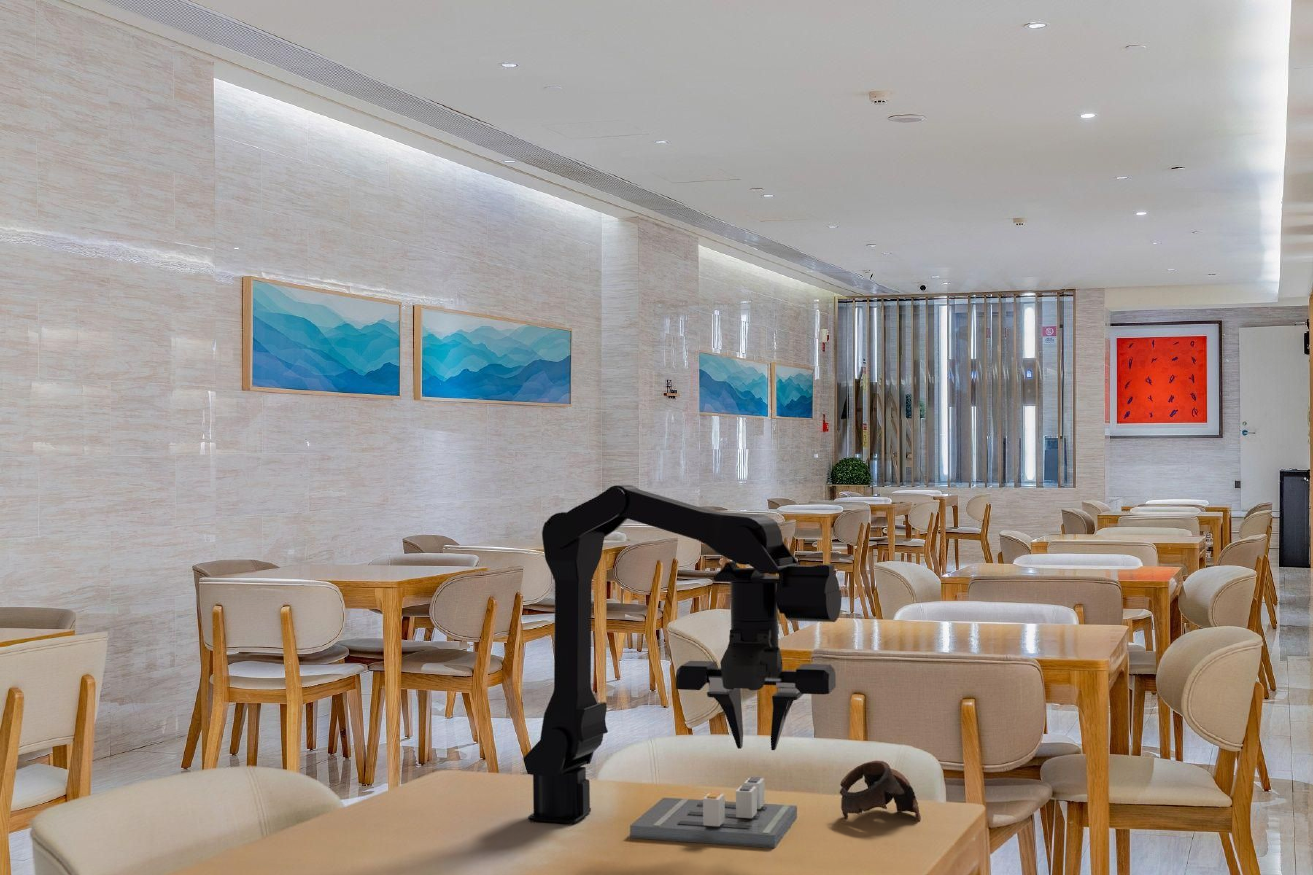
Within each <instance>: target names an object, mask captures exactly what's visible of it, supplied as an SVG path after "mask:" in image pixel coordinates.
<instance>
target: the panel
mask: <svg viewBox="0 0 1313 875" xmlns="http://www.w3.org/2000/svg"><path fill="white" fill-rule="evenodd" d="M797 818H798V805H790V804H776V803H775V804H774V803H765V804H764V805H763V806H762V807H761V808H760V809H757V813H756V814H755V815H754V817H753V818H739V817H736V801H729V800H728V801H725V821H724V822H723V823H722V824H721V825H720V826H706V825H703V799H693V798H678V797H677V798H675V797H662V798H661V799H660V800H659V801H657V802H656V803H655V804H654V805H652V806H651V807H650V808H649V809H648V810H646V811H645V812H644V813H643V814H642V815H641V816H640V817H638V818H637V819H636V820H634V821H633V823H631V824H630V826H629V833H630V834H629V837H630V839H643V840H656V841H668V842H669V841H670V842H684V843H685V842H686V843H697V844H712V845H727V846H737V847H738V846H741V847H752V848H753V847H754V848H757V847H758V848H767V849H769V848H771V849H775V848H777V846H778V844H779V843H780V842H781V841H782V839H783V838H784V836H785V835H786V834H787V832H788V831H789V829H790V828H791V827H792V825H793V824H794V823H795V822H796V820H797Z"/></svg>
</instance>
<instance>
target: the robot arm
mask: <svg viewBox="0 0 1313 875" xmlns="http://www.w3.org/2000/svg"><path fill="white" fill-rule="evenodd" d="M627 520H629V521H633V522H637V523H641V524H642V525H647V526H650V527H654V528H656V529H660V530H663V531H666V532H670V533H672V534H673V533H674V534H677V535H680V536H682V537H686V538H690V539H693V540H696V541H698V542H699V543H701V544H704V545H705V546H707V547H708V548H709V549H711V550H712V551H713V552H715V553H716V554H718V555H720V556H722V557H724V558H726V559H728V560H730V561H727V562H725V564H724V565H723V567H722V569H720V571H718V572H717V573H716V574H715V575H713V578H712V579H713V581H714V582H716V583H719V582H720V583H729V584H730V586H729V588H730V629H729V637H728V638H729V639H728V640H729V642H728V644H727V648H726V649H725V652H724V653H723V655H722V658H721V660H720V661H719V662H720V668H719V667H718V663H717V661H712V660H689V661H687V662H685V663H684V664H683V663H682V664H681V665H680V666H679V667H678V668H677V670H676V673H675V689H676V690H682V691H683V690H684V691H685V690H686V691H687V690H688V691H689V690H690V691H700V690H702V689H703V688H704V686H706V685H707V684H708V692H706V696H707V698H711V699H712V698H714V700H715V701H716V702H717V703H718V704H719V706H720V708H721V709H722V711H723V713H724V715H725V717H726V719H727V720H726V721H727V723H728V726H729V728H730V730H731V731H730V732H731V734H732V738H733V740H734V743H735V746H736V748H737V749H742V748H743V744H744V743H743V742H744V725H743V709H742V694H741V690H742V689H747V690H749V691H760V690H761V689H763V688H764V686H775V688H776V689H777V691H776V692H775V693H773V694H772V696H771V700H772V701H771V702H772V716H771V717H772V718H771V728H770V729H771V730H770V750H771V751H775V750H776V749H777V747H778V745H779V740H780V737H781V735H782V732H783V729H784V726H785V722H786V719H787V716H788V714H789V712H790V709H791V707H792V705H793V703H794V701H797V700H799V699H800V698H801V697H802V696H803V695H822V696H823V695H830V693H831V692H832V691H833V690H835V688H836V687H837V684H836V683H837V682H836V681H837V680H836V670H835V668H834V667H833V666H832V665H831V664H828V663H827V664H825V663H824V664H822V663H802V664H801V665H800V666H798V667H797V668H795V669H794V670H792V669H790V670H789V669H787V670H785V669H783V657H782V653H781V650H780V647H779V634H780V625H779V614H781V615H782V614H783V615H784V617H785V619H786V620H788V621H792V622H794V621H795V622H815V623H816V622H817V623H818V622H819V623H821V622H822V623H836V621H838V619H839V616H840V614H841V609H842V596H843V595H842V590H841V589H840V585H839V584H840V583H839V581H838V578H837V576H836V574H835V565H834V564H833V563H822V564H816V565H806V564H805V565H804V564H802V565H801V564H800V563H799V561H798V560H797V559H796V557H795V556H794V554H793V553H792V552H791V550H790V548H788V546H787V544H786V543H785V542H784V541H783V535H782V529H781V528H780V526H779V525H778V522H777V521H776V520H775V519H773V518H771V517H770V516H768V515H760V514H751V513H740V512H739V513H738V512H723V511H722V512H721V511H715V510H710V509H708V508H704V507H700V506H697V505H694V504H690V503H686V502H683V501H679V500H677V499H674V498H671V497H666V496H662V495H659V494H655V493H652V492H649V491H645V490H643V489H642V490H641V489H639V488H638V487H637V486H634V485H630V484H628V485H627V484H622V485H621V484H619V485H612V486H610V487H609V488H607V489H606V490H604V491H603V492H601V493H600V494H598V495H596V496H595V497H593V498H591V499H589V500H587V501H585V502H582V503H581V504H578V505H576V506H575V507H573V508H572V509H570V510H568V511H562V512H556V513H554V514H553V515H551V516H550V517H549V518H547V520H546V521H545V522H544V524H543V526H542V530H541V537H542V539H541V540H542V546H543V552H544V553H543V554H544V560H545V562H546V564H547V567H548V568H549V570H550V573H551V575H552V577H553V580H554V581H553V582H554V634H553V635H554V637H553V639H554V640H553V643H554V645H553V646H554V649H553V650H554V652H553V654H554V655H553V656H554V657H553V661H554V662H553V663H554V664H553V669H554V671H553V672H554V673H553V675H554V676H553V690H552V691H553V692H552V694H551V697H550V699H549V702H548V704H547V707H546V708H545V710H544V713H543V719H542V723H541V724H542V725H541V731H540V738H539V741H538V742H537V743H536V744H535V745H534V746H533V747H532V748H531V749H530V750H529V751H528V752H527V753H526V754H525V756H524V757H523V758H522V759H523V764H524V766H525V769H526V774H528V775H532V788H533V789H532V791H533V792H532V794H533V795H532V798H533V800H532V802H533V803H532V804H533V806H532V807H533V808H532V809H533V810H532V811H533V812H532V813H531V814H530V815H528V817H527V818H528V819H527V820H528V821H531V822H535V821H536V822H545V823H546V822H548V823H558V824H559V823H561V824H564V823H565V824H575V823H576V824H577V822H579V821H580V820H581V819H583V818H584V817H585V816H587V815H588V814H590V813H591V811H592V808H591V803H590V802H591V799H590V798H591V795H590V794H591V793H590V790H591V789H590V786H591V785H590V779H587V776H586V775H587V772H586V769H587V768H586V767H585V765H589V764H591V763H592V758H593V756H594V752H595V751H596V750H597V749H598V748H599V747H600V746H601V745H602V742H603V740H604V735H605V734H607V733H608V732H609V731H608V727H607V723H606V716H607V710H608V709H607V708H608V706H607V702H606V701H601V702H597V699H596V697H595V695H594V692H593V691H592V682H591V681H592V679H591V678H592V582H593V577H594V575H595V574H596V570H597V568H598V565H599V563H600V561H601V559H602V555H603V548H604V543H605V538H606V537H608V536H609V535H611V534H612V533H615V531H616V530H618V529H619V528H620V527H621V526H622V525H623V524H624V523H625V522H626V521H627ZM738 564H739V565H744V566H745V565H748V566H750V567H740V566H739V565H738ZM751 567H752V568H751ZM765 574H766V575H765ZM767 574H768V575H769V576H768V575H767ZM771 574H772V575H776V574H778V576H770V575H771Z"/></svg>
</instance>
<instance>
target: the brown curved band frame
mask: <svg viewBox="0 0 1313 875" xmlns="http://www.w3.org/2000/svg"><path fill="white" fill-rule="evenodd" d="M863 777H864V780H863V782H864V783H865V785H866V787H867V788H865V789H863V790H860V791H859V790H858V791H856V792H853V791H849V790H850V789H851V787H852V786H853V785H855V784H856V783H857V782H858V781H860V780H861V779H863ZM840 787H841V788H840V790H839V794H840V795H841V798H840V799H841V801H840V802H841V803H840V808H841V812H842V816H843V817H844V819H845V820H847V819H848V818H849V814H857V815H859V814H861V813H862V812H868V811H871V810H873V809H875V808H882V809H883V810H887V809H888V807H887V805H888V804H889V803H891V802H892V801H894V803H895V808H896V812H897V813H902V812H909V813H914V816H915V821H916V822H917V823H920V822H921V818H922V817H921V813H920V807H919V803H918V800H917V797H916V794H915V791H914V788H913V787H912V786H911V783H910V781H909V780H908V779H907V778H906V777H905V775H904V774H903V773H901V772H899V771H898V770H896V769H894V768H891V767H890V765H889V763H887V762H886V761H883V760H872V761H868V762H864V763H861V764H860V765H857V766H856V767H855V768H853V769H852V770H850V771H849V772H848V773H847V774H846V775H845V776H844V777H843V778H842V779H841V781H840Z"/></svg>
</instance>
